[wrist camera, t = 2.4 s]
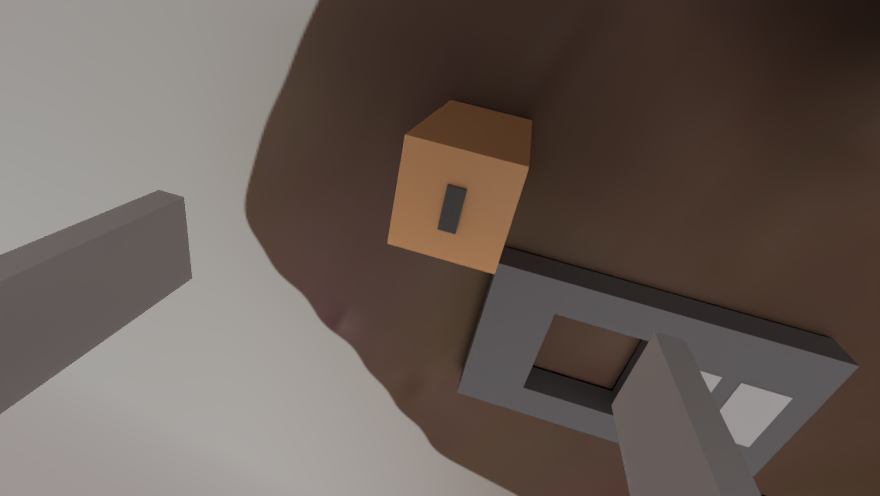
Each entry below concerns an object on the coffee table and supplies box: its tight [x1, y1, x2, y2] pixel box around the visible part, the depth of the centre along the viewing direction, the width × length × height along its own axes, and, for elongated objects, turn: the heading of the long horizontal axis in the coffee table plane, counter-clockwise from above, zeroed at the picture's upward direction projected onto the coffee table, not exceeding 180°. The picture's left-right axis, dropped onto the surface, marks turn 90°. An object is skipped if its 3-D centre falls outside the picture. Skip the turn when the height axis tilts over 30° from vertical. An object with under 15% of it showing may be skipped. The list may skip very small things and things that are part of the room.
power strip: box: [457, 247, 859, 477], centre depth 30 cm, size 12×22×3 cm, turn 77°
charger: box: [387, 100, 532, 274], centre depth 22 cm, size 5×5×10 cm
